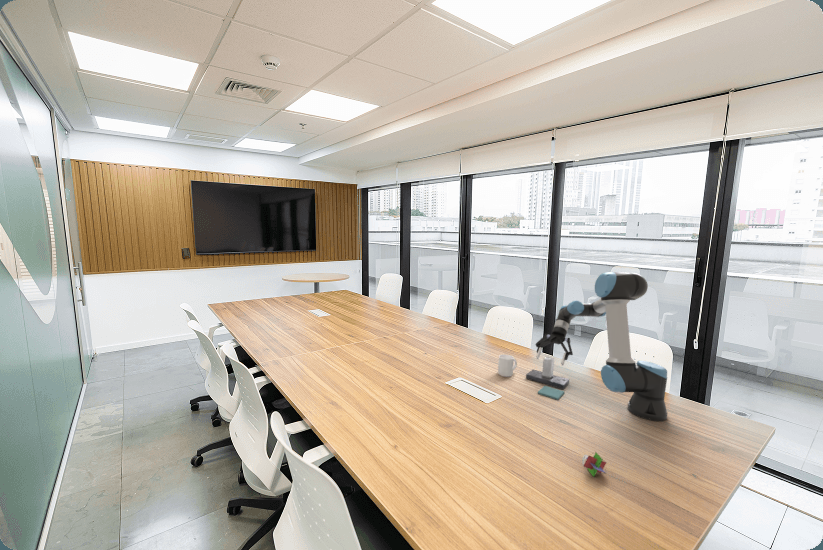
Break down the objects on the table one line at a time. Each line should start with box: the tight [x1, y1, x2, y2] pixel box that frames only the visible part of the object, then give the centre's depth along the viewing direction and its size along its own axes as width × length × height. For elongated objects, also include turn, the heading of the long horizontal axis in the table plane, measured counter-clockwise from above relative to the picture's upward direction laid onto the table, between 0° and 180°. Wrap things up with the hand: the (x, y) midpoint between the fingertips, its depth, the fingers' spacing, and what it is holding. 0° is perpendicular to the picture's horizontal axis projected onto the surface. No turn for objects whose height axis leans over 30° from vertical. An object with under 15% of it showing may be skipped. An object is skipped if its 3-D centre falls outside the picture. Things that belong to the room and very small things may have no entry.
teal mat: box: [537, 385, 565, 401], centre depth 178 cm, size 10×10×1 cm
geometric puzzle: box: [581, 452, 607, 478], centre depth 119 cm, size 7×7×8 cm
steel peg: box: [541, 356, 555, 379], centre depth 193 cm, size 4×4×13 cm
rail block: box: [525, 368, 570, 390], centre depth 193 cm, size 20×10×2 cm, turn 50°
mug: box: [497, 354, 518, 378], centre depth 202 cm, size 12×8×10 cm
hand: (549, 361), depth 196 cm, fingers open, 13 cm apart
